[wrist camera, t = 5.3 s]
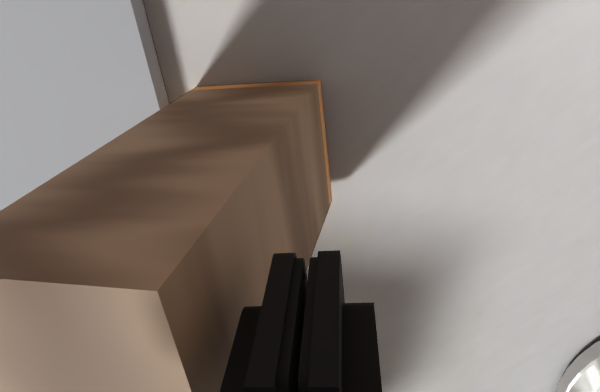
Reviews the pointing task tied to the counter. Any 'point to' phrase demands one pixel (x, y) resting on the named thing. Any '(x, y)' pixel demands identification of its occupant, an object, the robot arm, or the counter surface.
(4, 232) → the walnut block
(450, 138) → the counter surface
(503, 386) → the counter surface
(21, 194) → the mat
